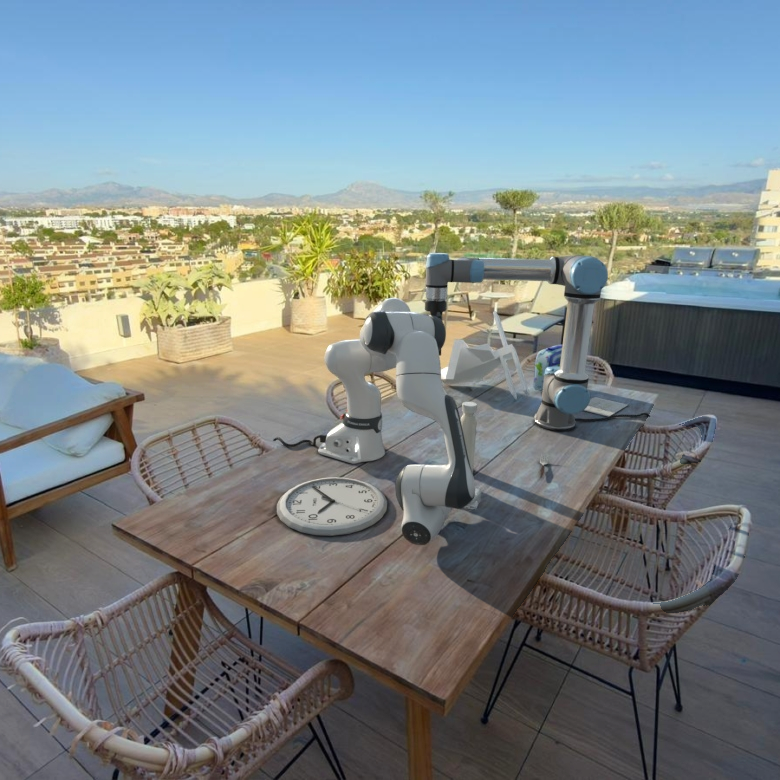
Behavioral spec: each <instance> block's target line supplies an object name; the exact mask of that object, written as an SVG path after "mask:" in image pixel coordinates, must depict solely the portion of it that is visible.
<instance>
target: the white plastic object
mask: <svg viewBox="0 0 780 780" xmlns="http://www.w3.org/2000/svg"><path fill="white" fill-rule="evenodd" d="M492 315H493V319H494V321H495V324H496V325H495V326H496V328H497V332H498V335H499V338H500V342H501V345H502V347H500V348H498V349H496V350H495V349H493V348H492V347H491V346H490V344H489V343H488V342H487V343H483V344H479V345H473V346H469V345H468V343H466V342H465V340H464V339H463V338H460V339H458V338H454V340H453V344H452V349H451V353H450V357H449V362H448V366H446V367H444V368H441V380H442V383H443V385H445V386H449V385H458V384H467V383H468V384H469V383H473V384H477V383H480V382H482V381H484V378H485V377H486V376H487V375H489V374H490V373H492V372H494V371H495V370H496V369H497V368H499V367H500V366H502V370H503V373H504V376H505V380H506V383H507V386H508V390H509V393H510V394H511V395H512V397H513V398H514V399H515V400H517V392H516V391H517V390H516V388H515V385H514V381H513V378H512V375H511V371H510V369H509V365H508V361H510V360H513V363H514V366H515V369H516V372H517V376H518V380H519V382H520V385H521V389H522V391H523V393H524V395H525V396H526V397H528V396H531V395H530V390H529V388H528V387H529V386H528V384H527V381H526V378H525V375H524V371H523V369H522V368H523V367H522V366H521V362H520V359H519V355H518V352H517V349H516V347H515V346H514V345H513V343H511V344H508V341H507V337H506V334H505V331H504V328H503V325H502V321H501V318H500V315H499V314H498V312H497V311H496V310H495V311H492Z"/></svg>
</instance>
